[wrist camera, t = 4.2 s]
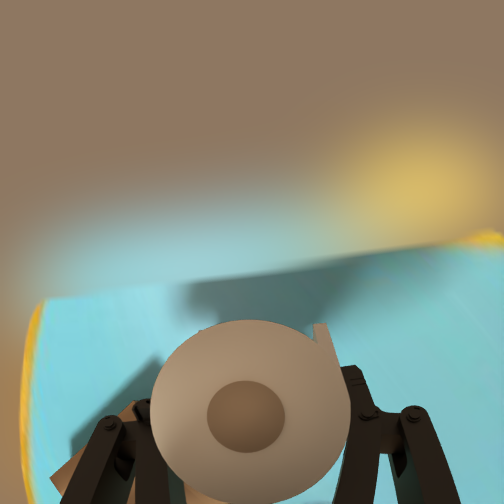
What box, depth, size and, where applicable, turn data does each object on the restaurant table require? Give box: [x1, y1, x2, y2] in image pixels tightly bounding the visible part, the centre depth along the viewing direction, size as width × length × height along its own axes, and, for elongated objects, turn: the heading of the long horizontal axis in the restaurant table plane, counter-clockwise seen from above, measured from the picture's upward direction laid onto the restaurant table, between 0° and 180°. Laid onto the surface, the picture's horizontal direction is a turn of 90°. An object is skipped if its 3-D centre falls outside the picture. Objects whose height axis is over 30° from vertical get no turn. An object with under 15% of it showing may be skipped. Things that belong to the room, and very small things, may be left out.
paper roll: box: [150, 320, 351, 504], centre depth 12 cm, size 6×6×12 cm
